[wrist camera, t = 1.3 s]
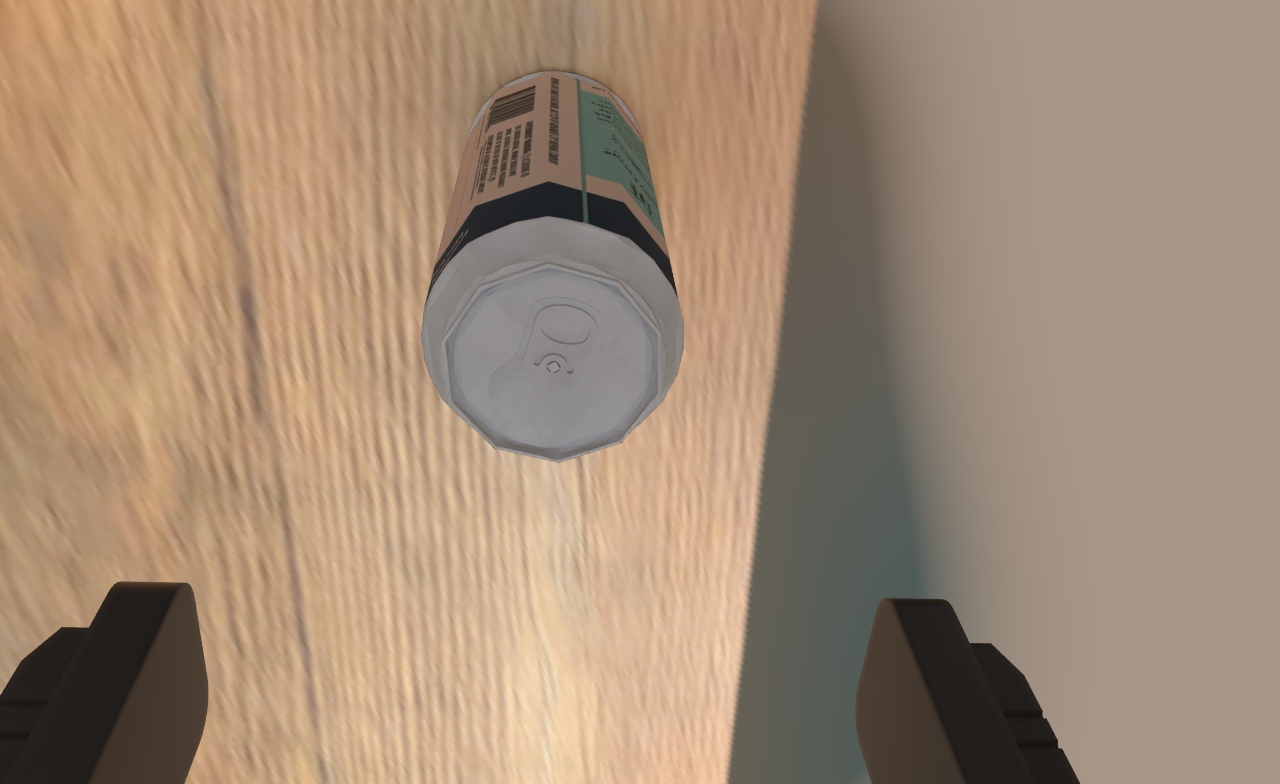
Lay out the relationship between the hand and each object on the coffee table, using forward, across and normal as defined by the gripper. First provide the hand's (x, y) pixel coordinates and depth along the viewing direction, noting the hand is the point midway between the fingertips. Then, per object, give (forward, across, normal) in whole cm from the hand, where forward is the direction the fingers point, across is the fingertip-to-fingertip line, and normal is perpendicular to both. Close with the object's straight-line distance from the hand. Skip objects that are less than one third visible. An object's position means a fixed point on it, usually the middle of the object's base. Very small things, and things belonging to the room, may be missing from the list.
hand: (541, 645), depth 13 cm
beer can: (+19, 0, 0) cm, 19 cm away
